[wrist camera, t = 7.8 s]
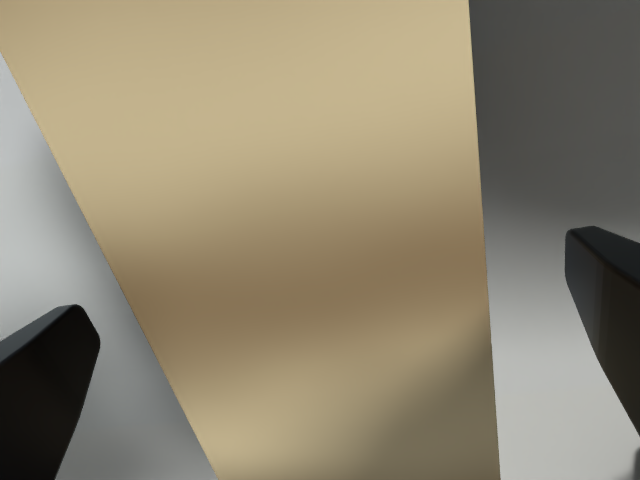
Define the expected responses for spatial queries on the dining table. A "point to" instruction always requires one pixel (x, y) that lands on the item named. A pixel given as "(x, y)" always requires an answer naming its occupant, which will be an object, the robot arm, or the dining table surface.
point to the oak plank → (285, 218)
